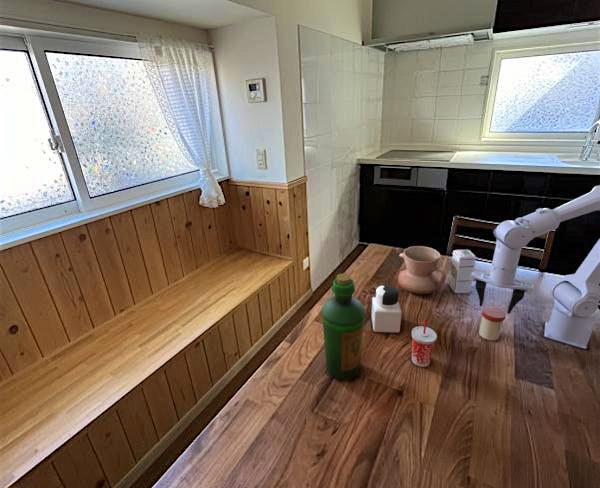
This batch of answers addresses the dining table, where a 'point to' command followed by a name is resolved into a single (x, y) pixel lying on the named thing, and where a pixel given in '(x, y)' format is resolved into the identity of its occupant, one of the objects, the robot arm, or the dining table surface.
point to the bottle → (343, 329)
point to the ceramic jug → (421, 270)
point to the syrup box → (462, 271)
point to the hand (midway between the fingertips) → (494, 307)
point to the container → (386, 310)
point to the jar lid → (493, 314)
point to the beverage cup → (422, 344)
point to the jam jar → (490, 329)
